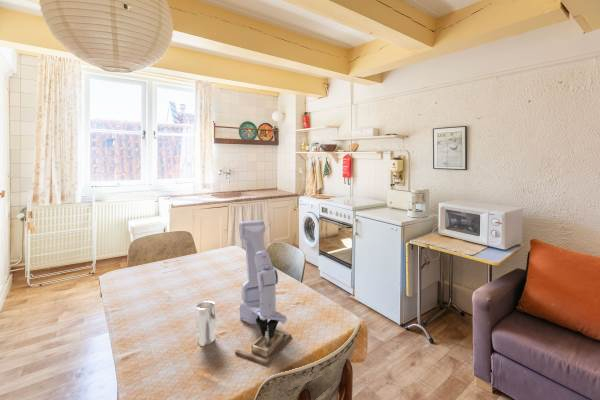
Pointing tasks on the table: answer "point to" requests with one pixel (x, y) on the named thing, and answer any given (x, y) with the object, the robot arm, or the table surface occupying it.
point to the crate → (267, 343)
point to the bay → (270, 357)
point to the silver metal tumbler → (206, 322)
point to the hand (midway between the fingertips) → (268, 336)
